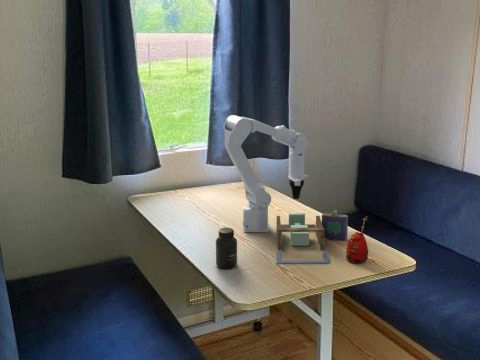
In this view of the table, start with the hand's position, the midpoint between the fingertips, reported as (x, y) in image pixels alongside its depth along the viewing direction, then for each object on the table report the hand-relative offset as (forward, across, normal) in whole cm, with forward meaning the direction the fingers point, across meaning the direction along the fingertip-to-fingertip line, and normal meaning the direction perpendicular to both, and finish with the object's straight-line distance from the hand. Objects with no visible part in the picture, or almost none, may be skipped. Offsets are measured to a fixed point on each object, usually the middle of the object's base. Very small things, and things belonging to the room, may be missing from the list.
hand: (296, 198), depth 205 cm
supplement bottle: (+10, -40, +24) cm, 47 cm away
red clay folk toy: (+10, -36, -18) cm, 41 cm away
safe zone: (+9, -32, 0) cm, 34 cm away
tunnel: (+9, -20, 0) cm, 22 cm away
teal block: (+9, -15, 0) cm, 17 cm away
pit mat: (+9, -7, 0) cm, 12 cm away
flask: (+10, -18, -12) cm, 24 cm away
